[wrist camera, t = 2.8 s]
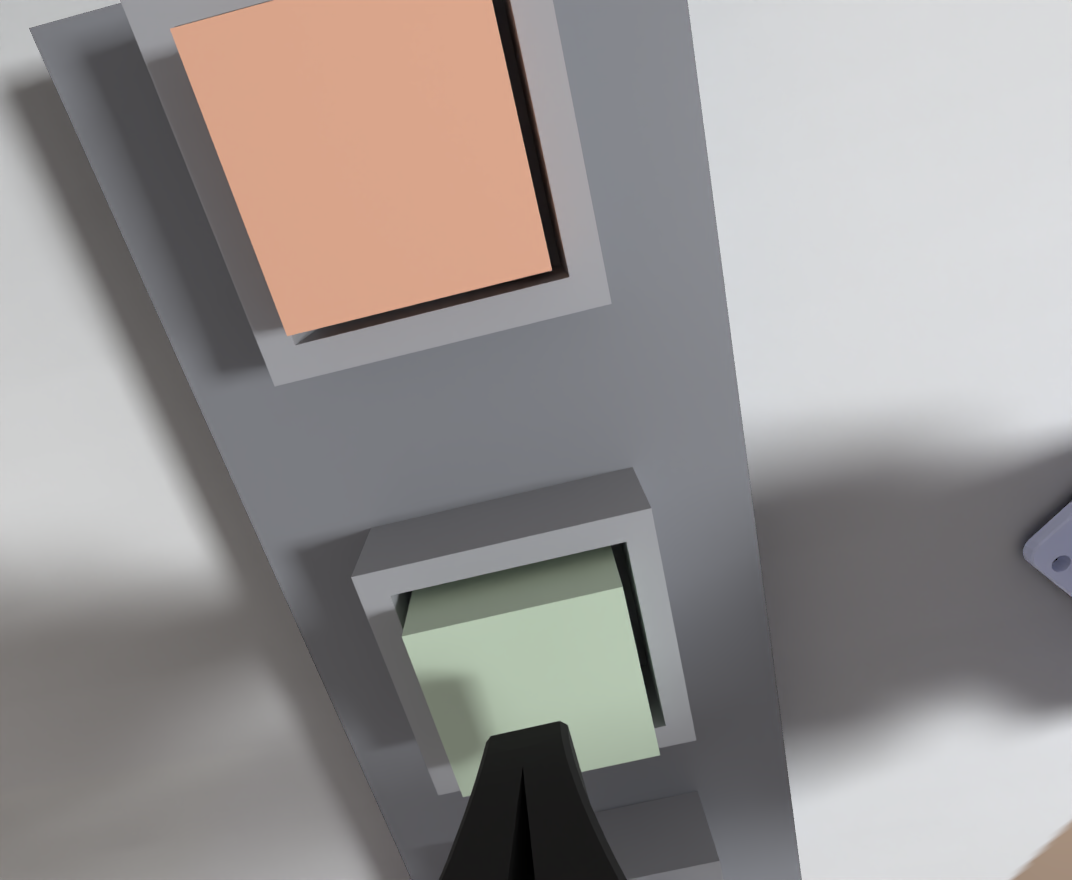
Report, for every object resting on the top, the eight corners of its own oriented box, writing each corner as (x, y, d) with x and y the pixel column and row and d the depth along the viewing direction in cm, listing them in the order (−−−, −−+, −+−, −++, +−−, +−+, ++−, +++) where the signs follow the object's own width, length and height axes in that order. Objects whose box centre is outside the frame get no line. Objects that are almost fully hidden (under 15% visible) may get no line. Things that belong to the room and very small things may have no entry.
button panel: (776, 848, 22) (838, 999, 18) (467, 911, 23) (458, 1073, 19) (639, -87, 13) (702, -221, 9) (112, 56, 13) (-69, -5, 9)
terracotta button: (544, 257, 12) (551, 270, 10) (321, 314, 12) (286, 336, 10) (484, -11, 10) (479, -56, 8) (230, 57, 10) (169, 28, 9)
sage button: (641, 686, 15) (660, 755, 13) (468, 724, 16) (463, 797, 14) (606, 533, 14) (622, 586, 12) (415, 577, 14) (401, 636, 12)
